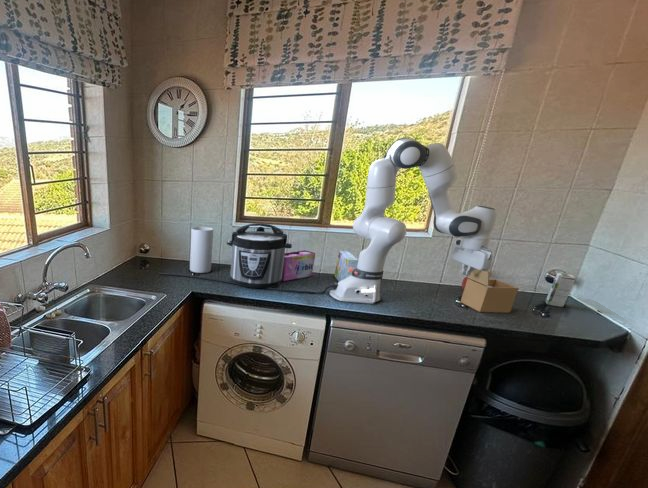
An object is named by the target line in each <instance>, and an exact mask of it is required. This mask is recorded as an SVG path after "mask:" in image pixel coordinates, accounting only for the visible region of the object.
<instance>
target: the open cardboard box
mask: <svg viewBox="0 0 648 488" xmlns="http://www.w3.org/2000/svg"><path fill="white" fill-rule="evenodd" d="M489 286H491V287H487V286H486V285H484V284H482V283H479V282H477V281H475V280H472V279H467V282H466V285H465V288H464V291H463V292H462V295H461V299H460V303H461V304H463V305H465V306H467V307H469V308H471V309H473V310H474V311H477V312H479V313H507V314H510V313H511V311H512V309H513V306H514V303H515V301H516V297H517V294H518V292H519V289H520V288H519V287H517V286H515V285H512V284H509V283H506V282H504V281H501V280H499V279H493V278H492V279H491V278H489Z"/></svg>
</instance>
